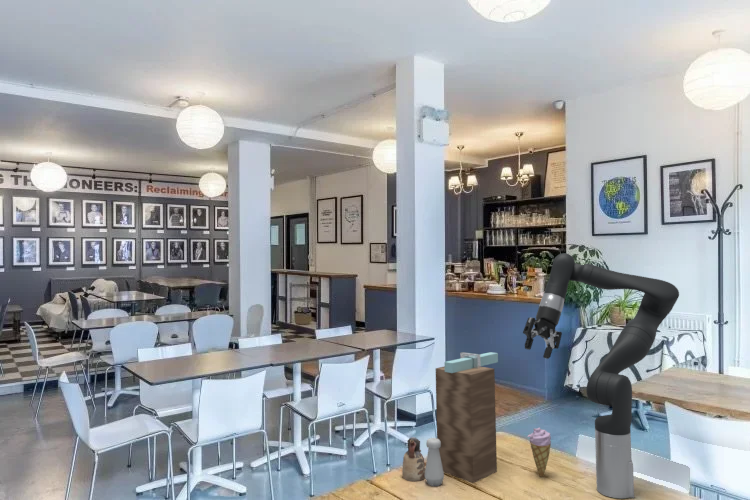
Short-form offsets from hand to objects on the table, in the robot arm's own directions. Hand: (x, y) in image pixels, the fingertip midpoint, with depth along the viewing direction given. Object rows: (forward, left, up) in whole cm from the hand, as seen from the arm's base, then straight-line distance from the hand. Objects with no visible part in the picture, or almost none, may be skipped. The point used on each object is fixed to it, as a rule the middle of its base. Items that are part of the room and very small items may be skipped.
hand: (536, 353), depth 173 cm
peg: (+20, +14, -3) cm, 24 cm away
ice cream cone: (0, +15, -35) cm, 38 cm away
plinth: (+22, +17, -35) cm, 44 cm away
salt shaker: (+30, +29, -35) cm, 54 cm away
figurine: (+37, +26, -35) cm, 57 cm away
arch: (+20, +15, -3) cm, 25 cm away
